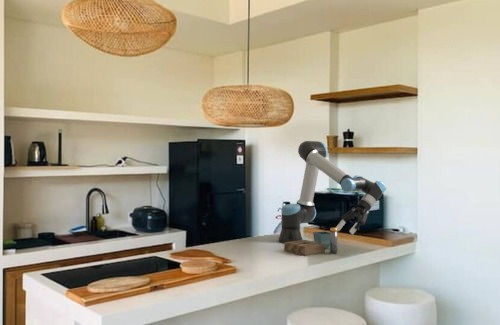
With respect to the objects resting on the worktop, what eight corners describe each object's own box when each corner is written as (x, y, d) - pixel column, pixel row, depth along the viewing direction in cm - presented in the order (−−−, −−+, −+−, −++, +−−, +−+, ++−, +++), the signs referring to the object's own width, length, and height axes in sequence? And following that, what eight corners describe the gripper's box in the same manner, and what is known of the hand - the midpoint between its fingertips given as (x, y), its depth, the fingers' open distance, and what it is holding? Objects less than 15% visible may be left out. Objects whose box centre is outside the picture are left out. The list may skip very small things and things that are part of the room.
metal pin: (328, 252, 267) (328, 228, 267) (333, 252, 269) (333, 227, 269) (334, 254, 264) (334, 228, 264) (338, 253, 266) (339, 228, 266)
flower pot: (325, 246, 288) (325, 231, 287) (333, 248, 279) (333, 233, 279) (312, 247, 284) (312, 232, 284) (320, 249, 276) (320, 234, 276)
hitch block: (284, 251, 270) (284, 242, 270) (303, 248, 280) (303, 239, 280) (304, 256, 257) (305, 246, 257) (324, 252, 268) (324, 243, 268)
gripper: (383, 210, 263) (361, 239, 257) (357, 205, 286) (335, 232, 280) (376, 201, 261) (353, 229, 255) (349, 197, 284) (328, 223, 278)
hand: (343, 231), depth 268 cm, fingers open, 13 cm apart
